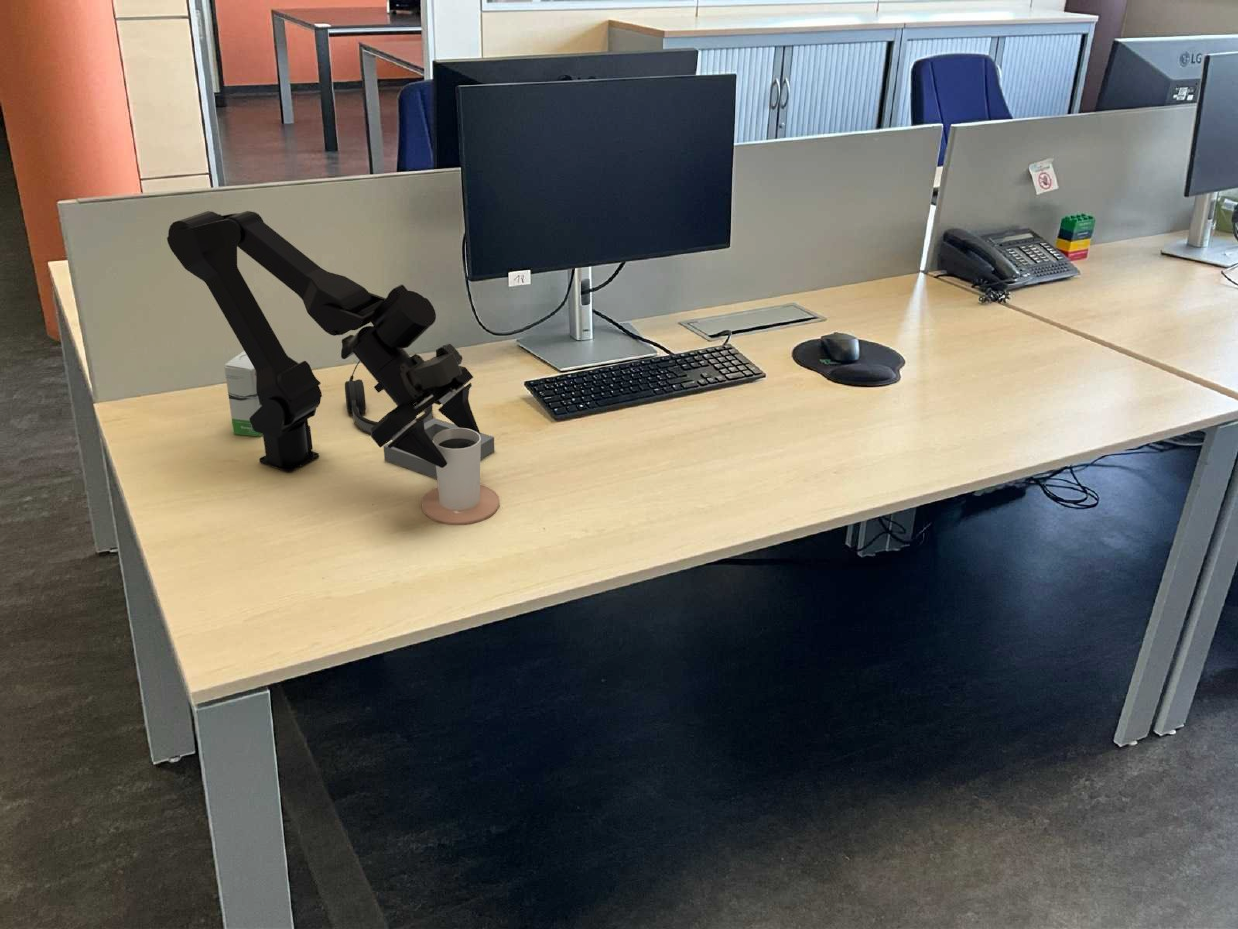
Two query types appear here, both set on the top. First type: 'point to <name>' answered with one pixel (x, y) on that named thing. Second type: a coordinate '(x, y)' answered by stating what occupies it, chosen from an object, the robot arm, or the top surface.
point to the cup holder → (431, 430)
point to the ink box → (242, 394)
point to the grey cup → (459, 468)
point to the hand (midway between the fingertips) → (462, 452)
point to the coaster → (473, 515)
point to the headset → (357, 404)
